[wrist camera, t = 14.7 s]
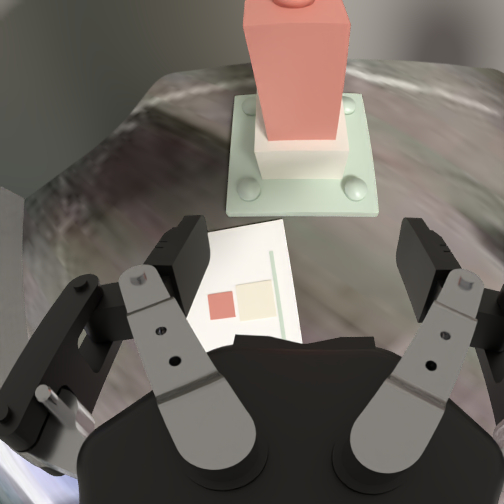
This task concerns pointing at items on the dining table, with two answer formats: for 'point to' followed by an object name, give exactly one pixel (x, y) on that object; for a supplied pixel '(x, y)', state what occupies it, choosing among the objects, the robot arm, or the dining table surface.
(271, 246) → the page
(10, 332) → the house
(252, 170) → the tower base
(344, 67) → the tall brick
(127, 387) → the dining table surface
